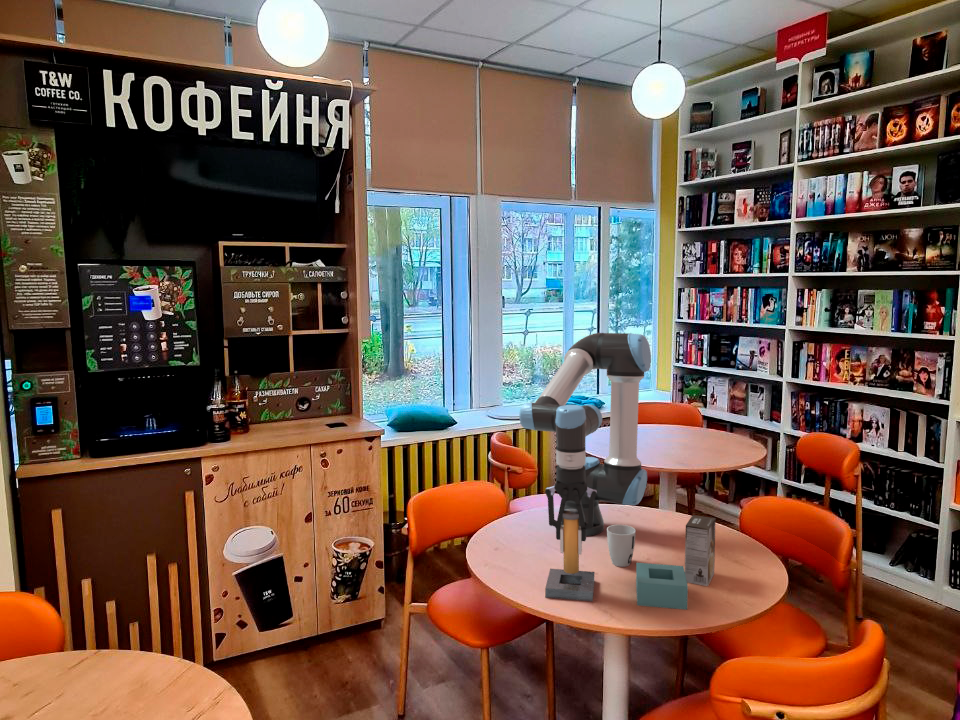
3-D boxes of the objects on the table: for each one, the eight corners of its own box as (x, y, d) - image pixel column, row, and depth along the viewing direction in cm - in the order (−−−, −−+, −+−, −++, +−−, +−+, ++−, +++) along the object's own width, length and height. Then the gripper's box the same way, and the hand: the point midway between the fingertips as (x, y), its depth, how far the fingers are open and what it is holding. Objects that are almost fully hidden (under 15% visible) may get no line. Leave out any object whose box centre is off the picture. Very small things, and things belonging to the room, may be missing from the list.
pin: (562, 565, 176) (562, 508, 174) (580, 567, 175) (580, 509, 173) (561, 573, 171) (560, 514, 169) (579, 575, 170) (579, 515, 168)
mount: (550, 577, 180) (550, 568, 180) (594, 580, 177) (594, 571, 177) (545, 597, 168) (545, 588, 168) (592, 601, 166) (592, 592, 165)
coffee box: (690, 569, 184) (692, 514, 182) (714, 573, 181) (716, 517, 179) (683, 582, 176) (685, 524, 174) (708, 587, 173) (710, 528, 171)
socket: (636, 584, 175) (636, 562, 174) (682, 587, 173) (683, 566, 172) (637, 605, 163) (637, 582, 163) (687, 609, 161) (687, 586, 160)
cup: (635, 570, 184) (636, 535, 183) (606, 567, 185) (606, 533, 184) (634, 558, 192) (635, 525, 191) (606, 556, 193) (606, 523, 192)
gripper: (536, 468, 167) (537, 555, 170) (603, 470, 164) (603, 560, 167) (539, 460, 175) (540, 543, 177) (604, 462, 171) (604, 548, 174)
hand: (571, 551), depth 172 cm, fingers closed on pin, 4 cm apart
